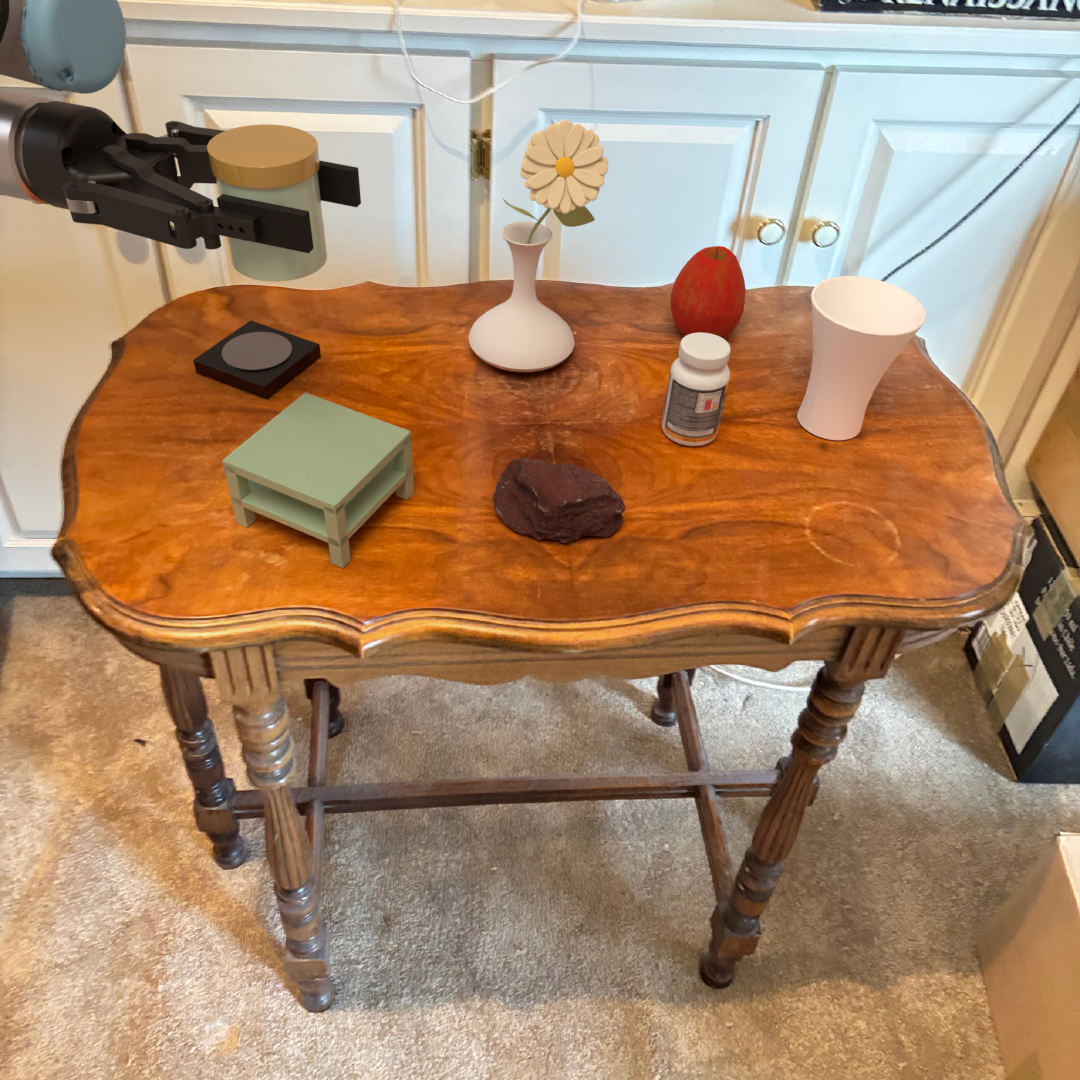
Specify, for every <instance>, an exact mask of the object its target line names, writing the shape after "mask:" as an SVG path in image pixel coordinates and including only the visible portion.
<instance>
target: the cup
mask: <svg viewBox="0 0 1080 1080" xmlns="http://www.w3.org/2000/svg"><path fill="white" fill-rule="evenodd" d="M810 300H811V318H812V319H811V321H812V345H813V346H812V357H811V368H810V374H809V379H808V383H807V386H806V391H805V394H804V396H803V399H802V401H801V404H800V405H799V408H798V410H797V413H796V416H797V417H796V418H797V421H798V423H799V424H800V425H801V427H802V428H803V429H805V430H806V431H807V432H809V433H811V434H813V435H814V436H816V437H819V438H823V439H826V440H831V441H846V440H850V439H853V438H855V437H857V436H858V435H859V434H860V433H861V431H862V427H863V423H864V419H865V415H866V411H867V407H868V405H869V403H870V400H871V399H872V396H873V394H874V392H875V391H876V388H877V387H878V385H879V384H880V381H881V380H882V379H883V377H884V376H885V374H886V372H887V370H888V369H889V368H890V366H891V365H892V364H893V363H894V361H895V360H896V359H897V357H898V356H899V355H900V353H901V352H902V351H903V350H904V349H905V347H906V346H907V344H908V343H909V342H911V340H912V339H913V337H914V336H916V334H917V333H918V332H919V330H921V328H922V327H923V325H924V324H925V323H926V319H927V314H926V309H925V307H924V305H923V304H922V303H921V301H920V300H919V299H917V297H916V296H915V295H913V294H912V293H910V292H909V291H907V290H906V289H904V288H901V287H900V286H898V285H895V284H892V283H890V282H887V281H886V280H885V281H884V280H880V279H876V278H873V277H866V276H858V275H842V276H834V277H830V278H827V279H824V280H822V281H820V282H819V283H817V284H816V285H815V286H814V287H813V288H812V291H811V293H810Z"/></svg>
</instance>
